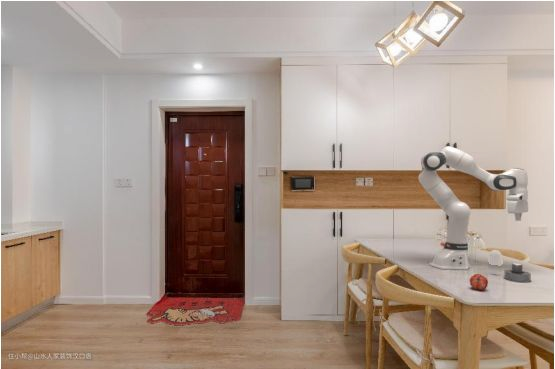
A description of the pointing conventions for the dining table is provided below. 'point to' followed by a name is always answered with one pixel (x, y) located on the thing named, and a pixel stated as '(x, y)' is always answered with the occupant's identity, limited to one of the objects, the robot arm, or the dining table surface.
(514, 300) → the dining table surface
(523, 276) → the grey round ashtray
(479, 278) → the pomegranate
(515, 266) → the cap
